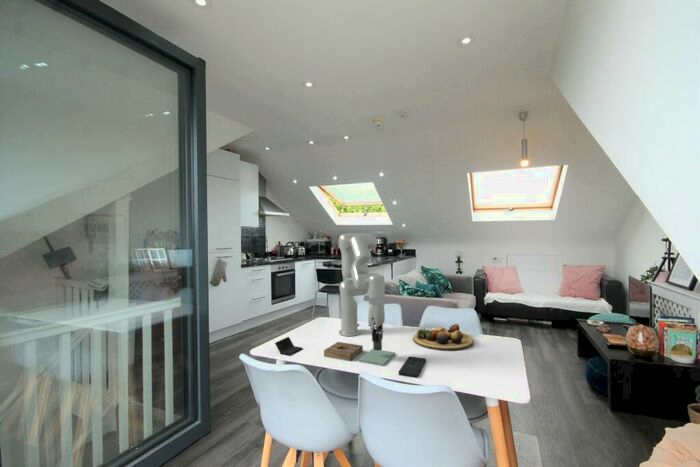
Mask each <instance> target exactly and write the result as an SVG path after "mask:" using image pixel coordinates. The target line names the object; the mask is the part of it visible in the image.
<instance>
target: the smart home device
mask: <svg viewBox="0 0 700 467" xmlns="http://www.w3.org/2000/svg"><path fill="white" fill-rule="evenodd" d="M426 363H427V359H426V358H424V357H418V356H417V357H416V356H412V355H411V356H410V355H409V356H408V357H407V358H406V360H405V362H404V363H403V364H402V366H401V368H400V369H399V371H398V376H401V377H402V376H403V377H407V378H408V377H409V378H415V379H418V378H419V376H420V375H421V373H422V371H423V369H424V367H425V365H426Z"/></svg>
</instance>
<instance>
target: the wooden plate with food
mask: <svg viewBox="0 0 700 467" xmlns="http://www.w3.org/2000/svg"><path fill="white" fill-rule="evenodd" d="M448 328H449V329H448ZM448 328H445V327H441V326H439V327H436V328H433V329H426V327H425V328H421V329H418V330H417V332H416V333H415V334H413V337H412V340H413V342H414V343H415V344H416V346H417V345H418V346H420V347H422V348H425V349H429V350H434V351H441V352H443V351H444V352H458V351H462V350H467V349H469V348H471V347H473V345H474V343H475V341H474V338H473V337H472V336H471V335H469V334H467V333H465V332H462V331H461V330H460V325H459V324H458V323H454V324H451V325H450V326H449V327H448Z"/></svg>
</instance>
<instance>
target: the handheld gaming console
mask: <svg viewBox="0 0 700 467" xmlns="http://www.w3.org/2000/svg"><path fill="white" fill-rule="evenodd" d="M274 345H275V346H276V348H277V350H278V351H279V354H280V355H283V356H289V357H290V356H292V355H294V354H297V353H298V352H300V351H302V350H303V347H300V346H296V345H294V343H293V341H292V340H291V338H290V336H287V337H284V338H282V339H280V340H278V341H276V342H275V343H274Z"/></svg>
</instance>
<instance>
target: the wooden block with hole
mask: <svg viewBox="0 0 700 467" xmlns="http://www.w3.org/2000/svg"><path fill="white" fill-rule="evenodd" d="M363 350H364V349H363V345H361V344H356V343H355V344H354V343H347V342H342V341H337V342H336V343H334V344H332V345H330V346H329V347H327V348H325V349H324V350H323V357H326V358H332V359H335V360H336V359H337V360H341V361H349V362H351V361H353V359H355V358H356V357H357V356H359V355H360V354H361V353H363Z"/></svg>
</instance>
